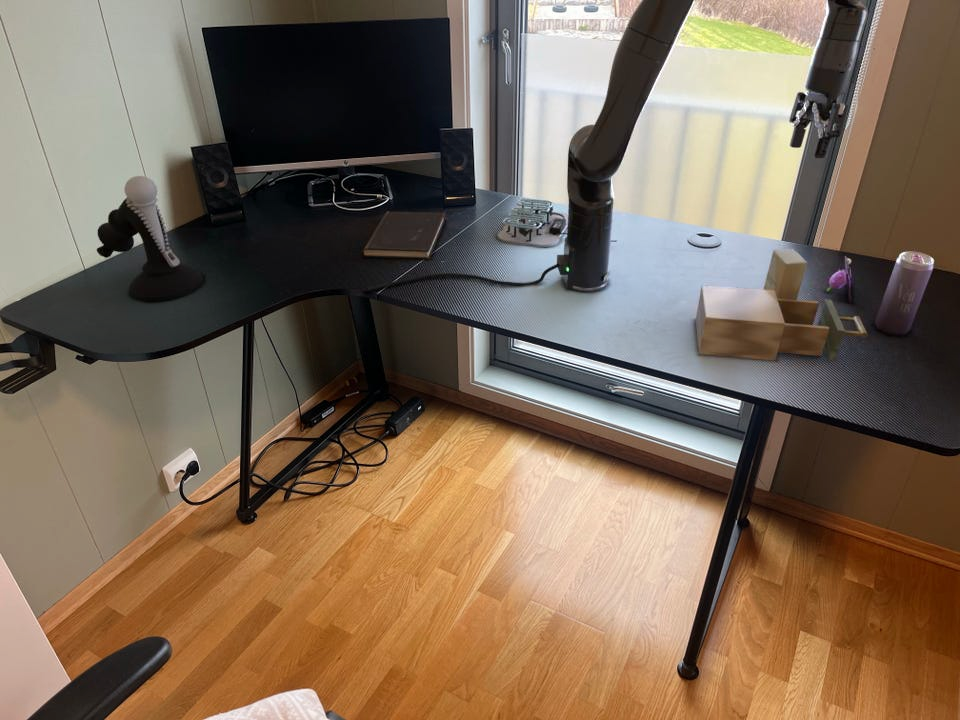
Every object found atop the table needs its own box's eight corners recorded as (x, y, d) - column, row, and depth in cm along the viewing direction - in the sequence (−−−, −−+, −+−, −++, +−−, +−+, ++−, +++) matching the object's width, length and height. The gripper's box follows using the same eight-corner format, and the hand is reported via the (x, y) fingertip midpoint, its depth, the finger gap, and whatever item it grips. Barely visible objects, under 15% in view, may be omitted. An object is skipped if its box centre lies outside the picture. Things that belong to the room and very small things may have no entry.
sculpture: (172, 306, 148) (137, 193, 134) (84, 290, 155) (43, 181, 141) (216, 274, 160) (188, 167, 146) (133, 261, 167) (99, 158, 153)
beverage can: (908, 324, 136) (934, 253, 128) (909, 339, 132) (936, 267, 123) (874, 318, 138) (898, 248, 130) (874, 332, 134) (898, 261, 125)
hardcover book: (445, 221, 183) (444, 212, 182) (429, 259, 165) (428, 250, 163) (385, 219, 185) (385, 211, 184) (363, 257, 166) (362, 248, 165)
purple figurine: (852, 273, 140) (850, 255, 147) (823, 277, 142) (823, 259, 149) (855, 302, 143) (853, 283, 150) (827, 306, 145) (826, 287, 152)
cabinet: (766, 325, 137) (774, 290, 132) (775, 360, 127) (785, 323, 122) (695, 320, 139) (701, 285, 135) (699, 354, 129) (706, 317, 125)
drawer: (849, 330, 133) (859, 301, 130) (864, 362, 124) (875, 333, 121) (755, 322, 136) (762, 294, 133) (763, 354, 127) (770, 324, 124)
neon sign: (614, 238, 162) (493, 225, 170) (612, 255, 164) (493, 241, 172) (627, 205, 178) (517, 194, 186) (626, 221, 181) (517, 209, 189)
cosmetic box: (759, 303, 144) (771, 248, 137) (779, 301, 144) (793, 247, 138) (772, 318, 139) (786, 263, 132) (793, 317, 139) (808, 262, 132)
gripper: (793, 59, 137) (771, 143, 145) (835, 69, 125) (808, 160, 133) (828, 61, 138) (804, 145, 146) (873, 71, 126) (844, 162, 134)
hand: (806, 152), depth 140 cm, fingers open, 8 cm apart
